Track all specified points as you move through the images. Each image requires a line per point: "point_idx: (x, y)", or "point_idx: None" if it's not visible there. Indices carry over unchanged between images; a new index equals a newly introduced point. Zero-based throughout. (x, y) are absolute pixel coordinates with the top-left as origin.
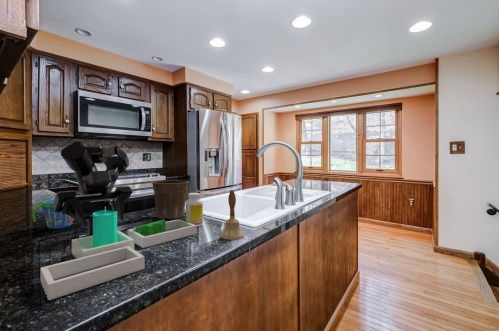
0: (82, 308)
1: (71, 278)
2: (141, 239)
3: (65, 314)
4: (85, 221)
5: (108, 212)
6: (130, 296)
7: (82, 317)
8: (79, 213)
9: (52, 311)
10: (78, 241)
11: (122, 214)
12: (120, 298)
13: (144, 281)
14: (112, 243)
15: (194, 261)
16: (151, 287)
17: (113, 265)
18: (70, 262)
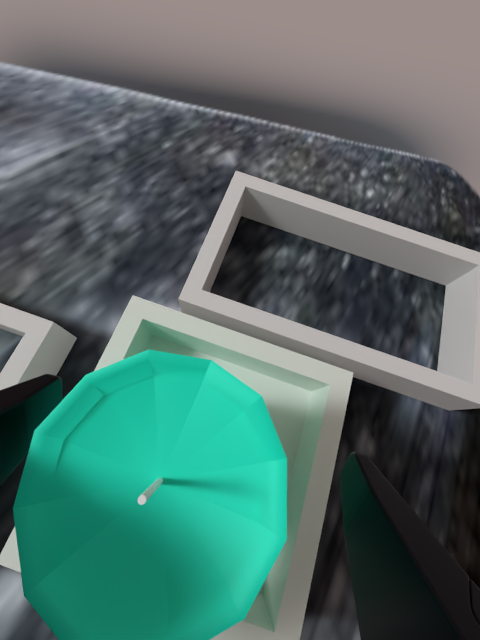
0: (422, 191)
1: (441, 241)
2: (48, 344)
3: (450, 202)
4: (369, 469)
5: (72, 539)
6: (344, 145)
7: (433, 169)
8: (459, 572)
9: (464, 232)
10: (289, 575)
11: (27, 386)
12: (360, 156)
13: (285, 159)
14: (221, 346)
15: (130, 114)
16: (296, 131)
17: (333, 203)
18: (400, 359)
